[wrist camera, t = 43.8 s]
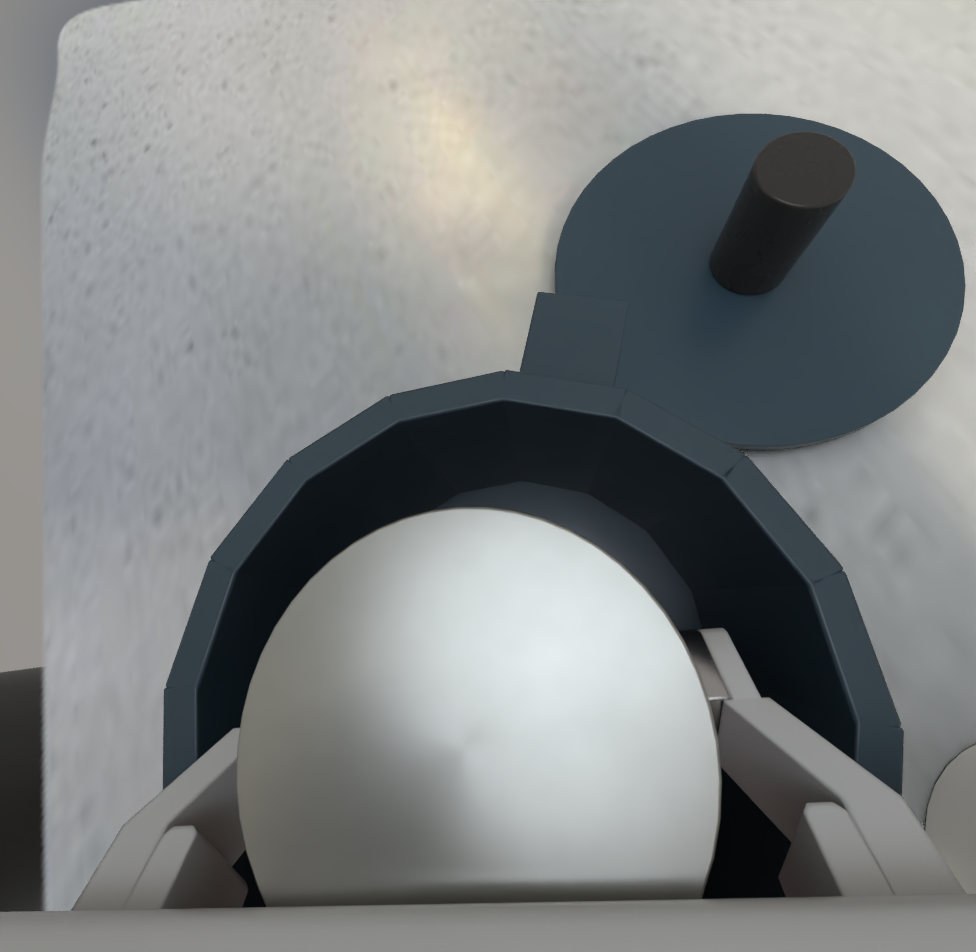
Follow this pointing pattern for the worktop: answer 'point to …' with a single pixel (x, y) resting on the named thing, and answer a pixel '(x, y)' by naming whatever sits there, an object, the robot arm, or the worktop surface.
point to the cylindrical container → (956, 818)
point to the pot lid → (767, 276)
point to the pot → (579, 507)
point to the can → (477, 727)
